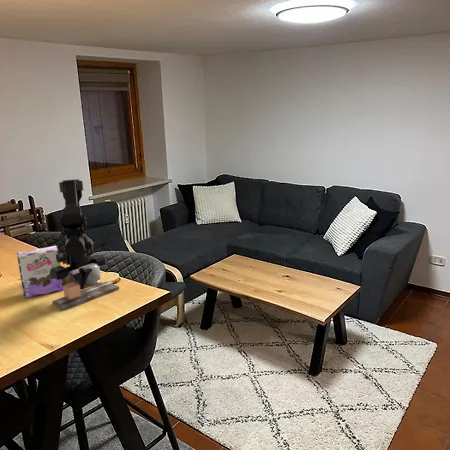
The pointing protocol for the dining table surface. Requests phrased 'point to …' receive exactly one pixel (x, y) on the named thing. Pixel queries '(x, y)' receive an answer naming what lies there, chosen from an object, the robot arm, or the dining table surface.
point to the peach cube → (71, 290)
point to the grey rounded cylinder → (93, 275)
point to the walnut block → (68, 280)
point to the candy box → (38, 271)
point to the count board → (86, 295)
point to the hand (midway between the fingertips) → (81, 288)
